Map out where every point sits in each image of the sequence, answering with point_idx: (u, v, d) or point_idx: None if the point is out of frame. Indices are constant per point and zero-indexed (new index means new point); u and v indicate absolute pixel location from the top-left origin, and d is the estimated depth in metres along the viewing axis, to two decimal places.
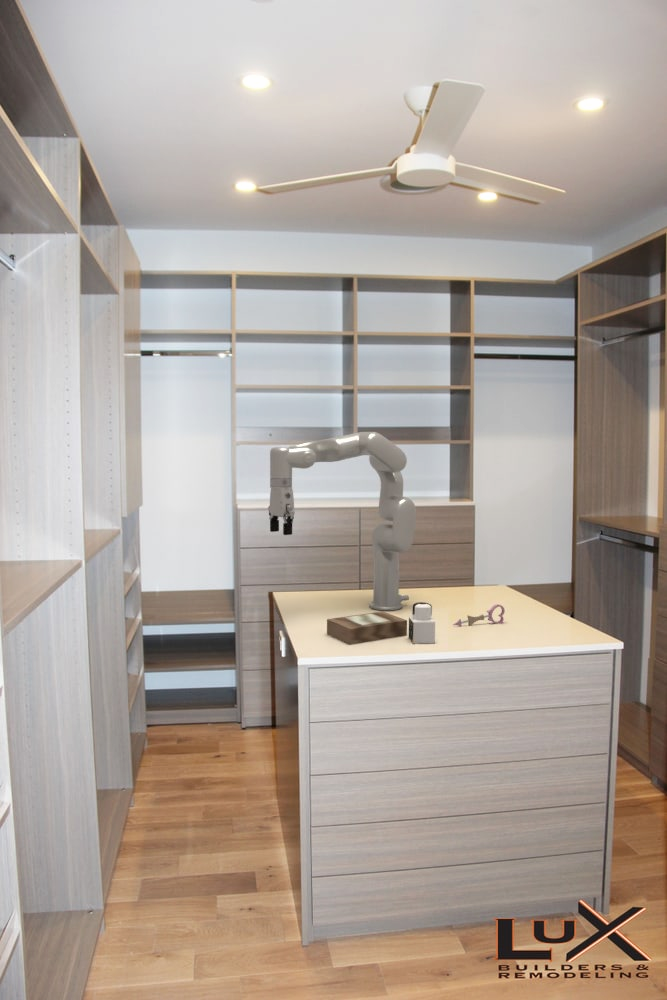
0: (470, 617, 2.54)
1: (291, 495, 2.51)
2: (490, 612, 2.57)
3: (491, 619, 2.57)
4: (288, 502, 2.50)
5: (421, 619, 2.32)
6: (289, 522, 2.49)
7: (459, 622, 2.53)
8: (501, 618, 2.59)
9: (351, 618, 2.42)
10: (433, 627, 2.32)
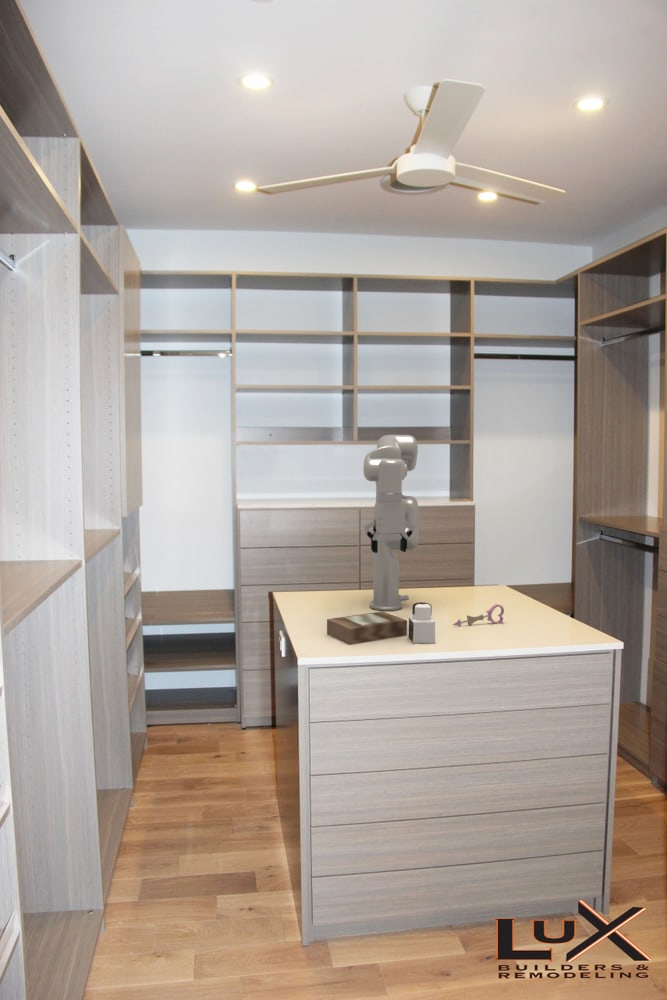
0: (469, 617, 2.54)
1: None
2: (489, 612, 2.56)
3: (490, 619, 2.57)
4: None
5: (421, 619, 2.32)
6: None
7: (458, 622, 2.53)
8: (500, 618, 2.59)
9: (351, 618, 2.42)
10: (433, 627, 2.32)
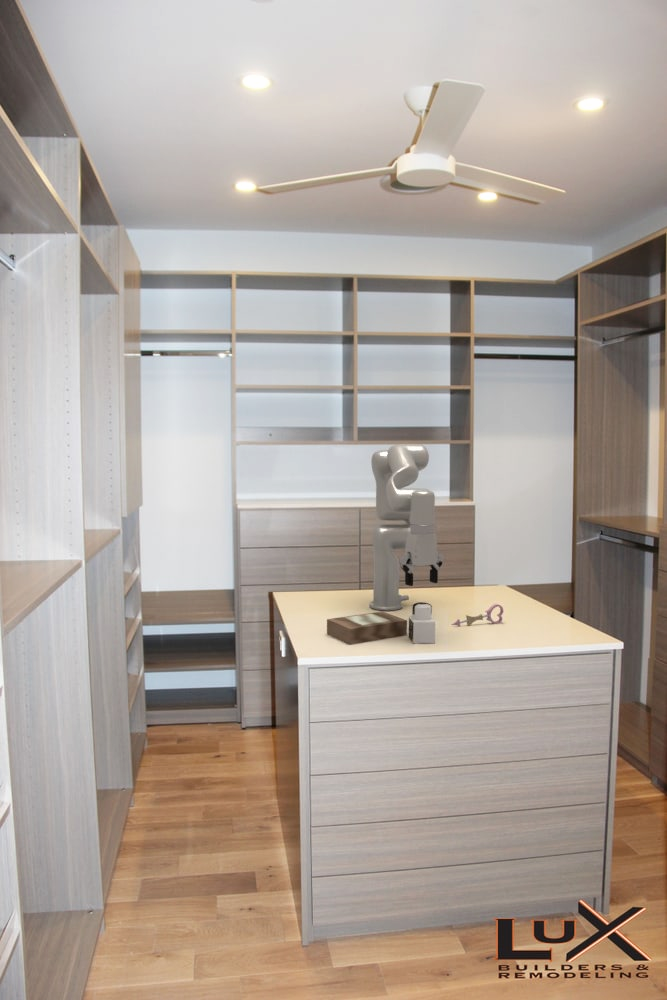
0: (469, 617, 2.54)
1: None
2: (489, 612, 2.56)
3: (490, 619, 2.57)
4: None
5: (421, 619, 2.32)
6: None
7: (458, 622, 2.53)
8: (500, 618, 2.59)
9: (351, 618, 2.42)
10: (433, 627, 2.32)
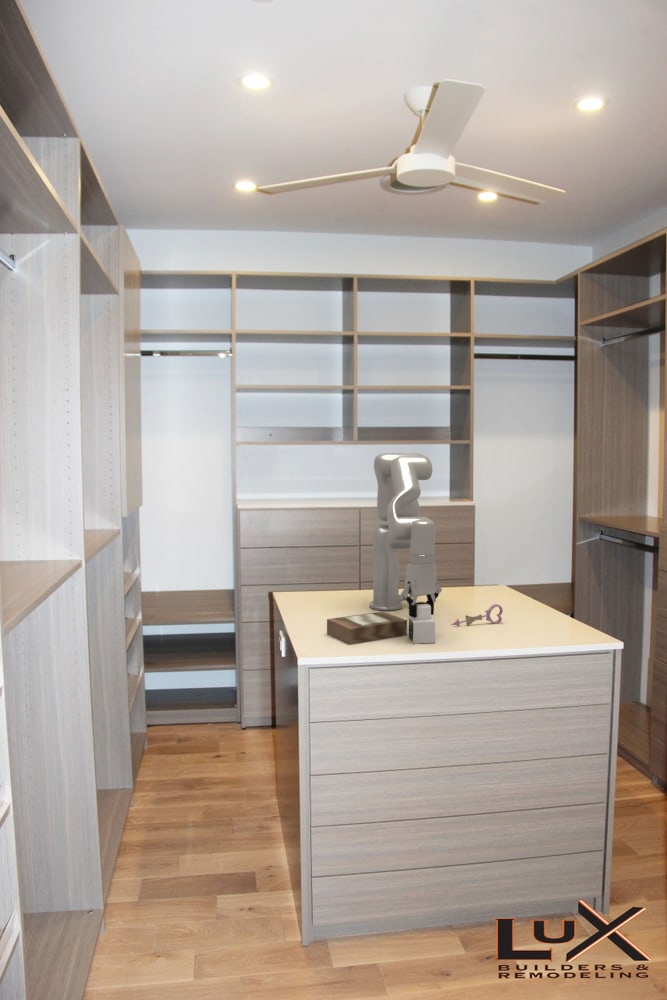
0: (468, 617, 2.54)
1: None
2: (488, 612, 2.56)
3: (489, 619, 2.57)
4: None
5: (421, 619, 2.32)
6: None
7: (457, 622, 2.53)
8: (499, 618, 2.59)
9: (351, 618, 2.42)
10: (433, 627, 2.32)
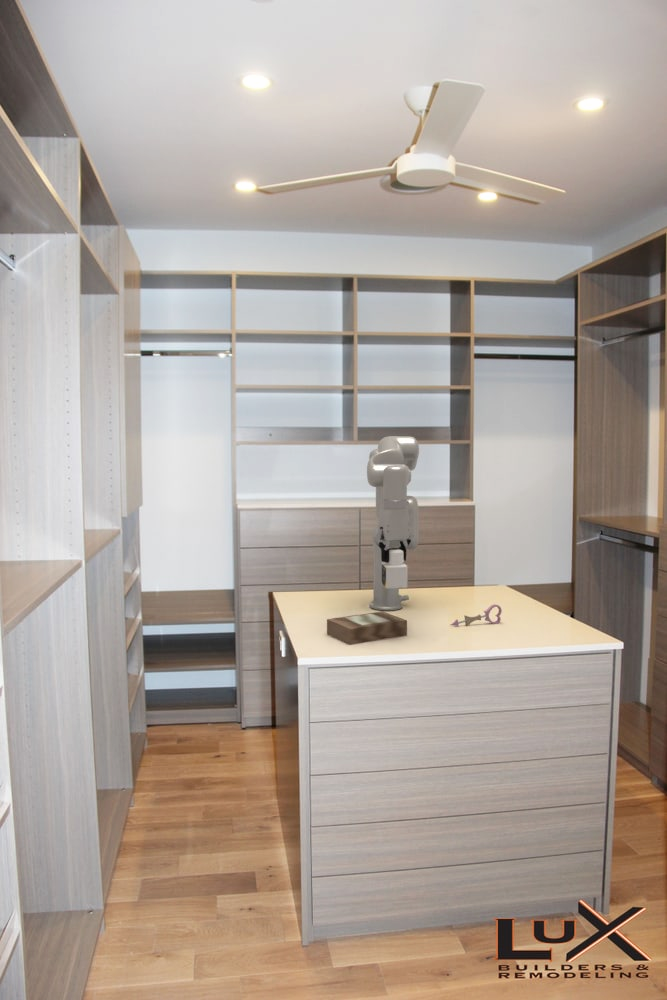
0: (467, 617, 2.54)
1: None
2: (487, 612, 2.56)
3: (488, 619, 2.57)
4: None
5: (393, 564, 2.34)
6: None
7: (456, 622, 2.53)
8: (498, 618, 2.58)
9: (351, 618, 2.42)
10: (405, 572, 2.34)
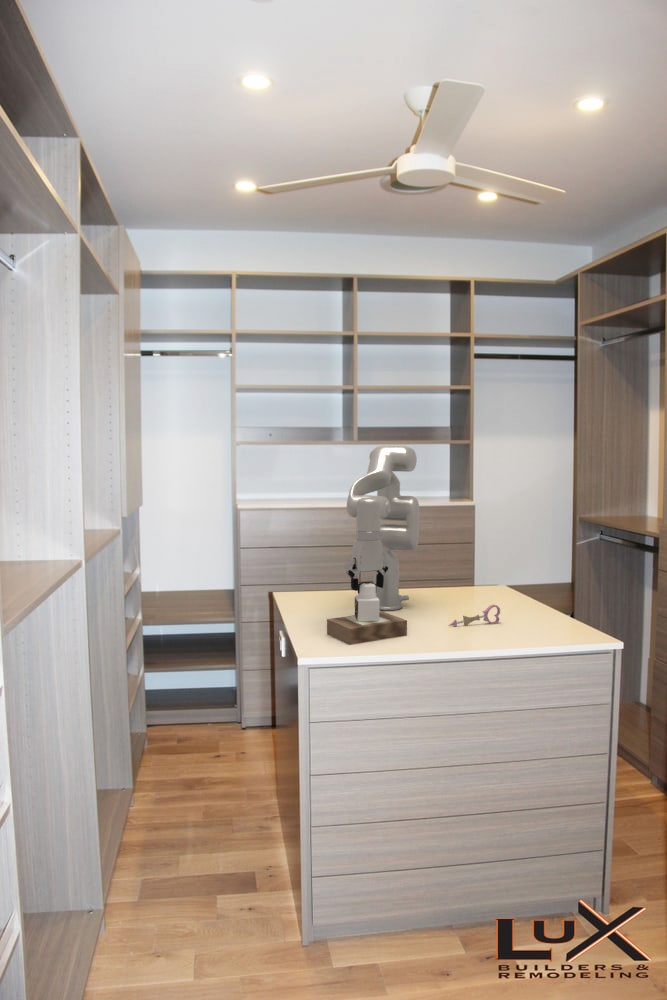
0: (466, 617, 2.54)
1: None
2: (486, 612, 2.56)
3: (487, 619, 2.56)
4: None
5: (366, 598, 2.38)
6: None
7: (455, 622, 2.53)
8: (497, 618, 2.58)
9: (351, 618, 2.42)
10: (377, 605, 2.38)
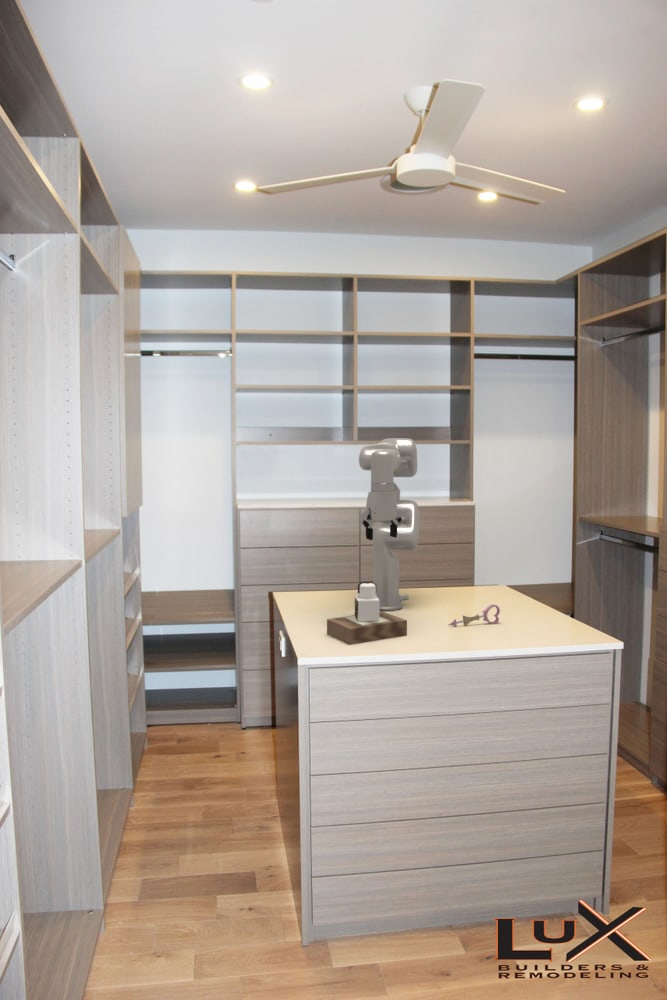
0: (465, 617, 2.54)
1: None
2: (485, 612, 2.56)
3: (486, 619, 2.56)
4: None
5: (366, 598, 2.38)
6: None
7: (454, 622, 2.53)
8: (496, 618, 2.58)
9: (351, 618, 2.42)
10: (377, 605, 2.38)
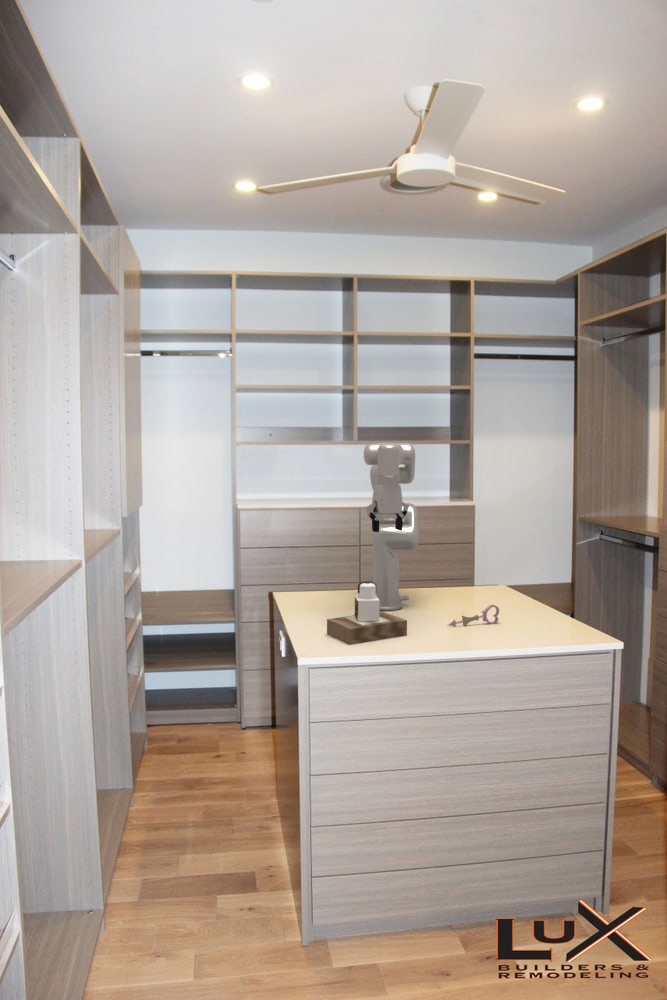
0: (464, 617, 2.54)
1: None
2: (485, 612, 2.56)
3: (486, 619, 2.56)
4: None
5: (366, 598, 2.38)
6: None
7: (453, 622, 2.53)
8: (496, 618, 2.58)
9: (351, 618, 2.42)
10: (377, 605, 2.38)
